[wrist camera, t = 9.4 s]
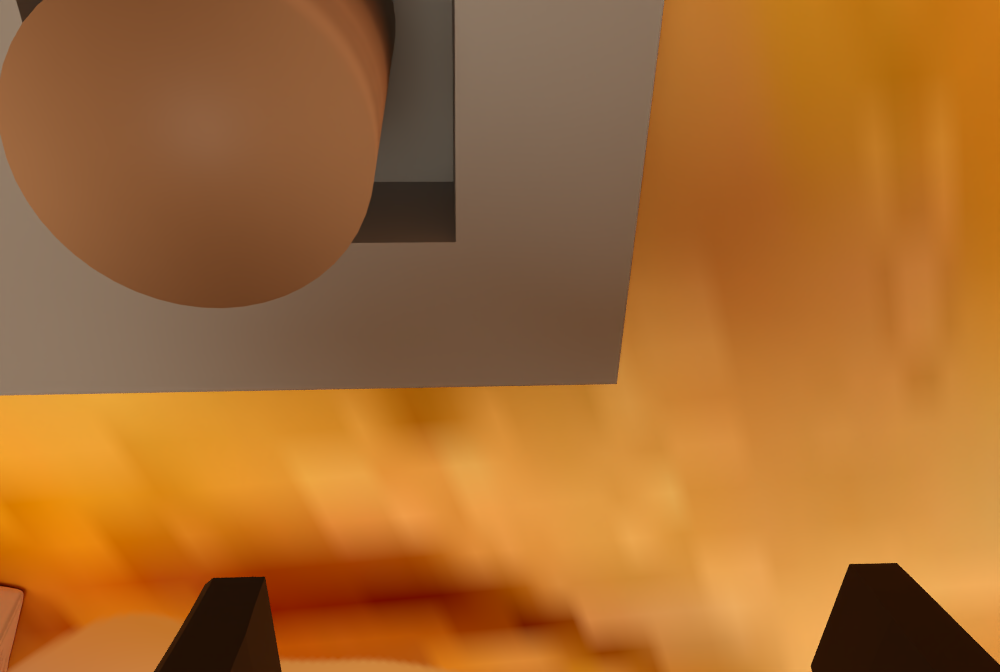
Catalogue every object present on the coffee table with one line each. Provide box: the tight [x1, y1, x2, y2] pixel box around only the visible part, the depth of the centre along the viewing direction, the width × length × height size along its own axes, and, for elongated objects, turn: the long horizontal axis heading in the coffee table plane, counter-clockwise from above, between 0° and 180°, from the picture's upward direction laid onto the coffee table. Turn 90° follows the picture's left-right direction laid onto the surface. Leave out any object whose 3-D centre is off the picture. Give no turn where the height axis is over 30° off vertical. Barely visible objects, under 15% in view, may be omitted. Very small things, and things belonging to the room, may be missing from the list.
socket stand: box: [0, 0, 664, 395], centre depth 14 cm, size 12×12×4 cm
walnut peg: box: [0, 0, 395, 308], centre depth 12 cm, size 4×4×6 cm
